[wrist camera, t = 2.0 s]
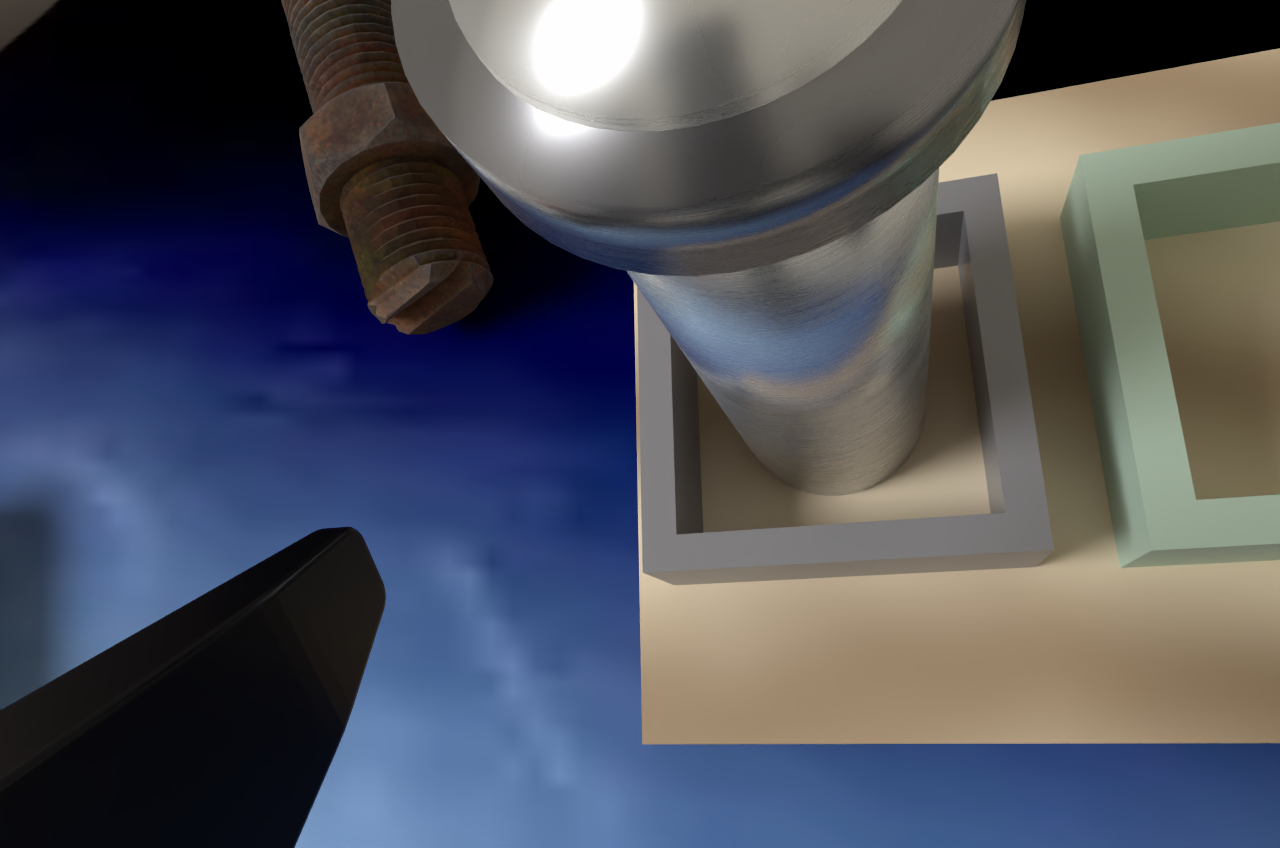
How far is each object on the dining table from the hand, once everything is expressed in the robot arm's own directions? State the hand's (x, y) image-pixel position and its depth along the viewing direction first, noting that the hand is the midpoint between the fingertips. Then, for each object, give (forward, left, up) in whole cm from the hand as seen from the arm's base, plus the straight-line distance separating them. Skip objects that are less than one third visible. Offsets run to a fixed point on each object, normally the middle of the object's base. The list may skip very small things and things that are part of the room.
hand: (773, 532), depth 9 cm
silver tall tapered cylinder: (+4, 0, -11) cm, 11 cm away
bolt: (+15, +12, -12) cm, 23 cm away
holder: (+4, 0, -12) cm, 12 cm away
